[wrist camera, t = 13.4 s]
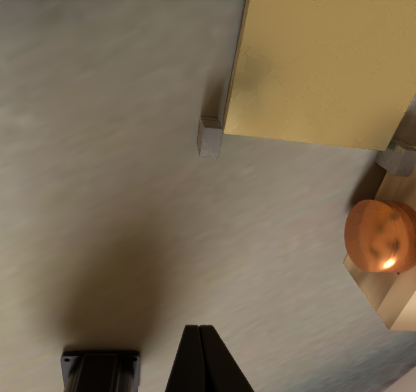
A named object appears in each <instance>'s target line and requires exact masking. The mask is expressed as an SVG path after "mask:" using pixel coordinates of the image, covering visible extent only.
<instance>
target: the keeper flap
mask: <svg viewBox="0 0 416 392" xmlns="http://www.w3.org/2000/svg"><path fill="white" fill-rule="evenodd" d="M415 93H416V0H246V4H245V9H244V14H243V20H242V25H241V30H240V35H239V40H238V46H237V51H236V56H235V61H234V67H233V72H232V77H231V82H230V87H229V93H228V98H227V103H226V108H225V114H224V119H223V124H222V128H223V133H226V134H235V135H244V136H253V137H262V138H271V139H280V140H289V141H298V142H307V143H317V144H326V145H335V146H344V147H353V148H362V149H371V150H380V151H385V150H386V148H387V146H388V144H389V142H390V140H391V139H392V137H393V135H394V133H395V131H396V129H397V127H398V125H399V123H400V121H401V120H402V118H403V116H404V114H405V112H406V110H407V108H408V106H409V104H410V103H411V101H412V99H413V97H414V95H415Z"/></svg>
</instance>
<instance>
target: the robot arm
mask: <svg viewBox="0 0 416 392" xmlns="http://www.w3.org/2000/svg"><path fill="white" fill-rule="evenodd" d="M139 366H140V353H139V352H136V351H116V352H65V353H63V354H62V356H61V367H62V374H63V381H64V392H138V382H139ZM165 392H254V390H253V389H252V387H251V385H250V384H249V382H248V381H247V379H246V377H245V376H244V374H243V373H242V371H241V370H240V368H239V366H238V365H237V363H236V362H235V360H234V358H233V357H232V355H231V354H230V352H229V350H228V349H227V347H226V346H225V344H224V342H223V341H222V339H221V338H220V336H219V334H218V333H217V331H216V330H215V328H214V327H213V326H212V325H200V326H198V325H186V326H185V328H184V331H183V334H182V337H181V341H180V344H179V347H178V350H177V354H176V357H175V360H174V364H173V367H172V370H171V373H170V377H169V380H168V383H167V386H166V390H165Z"/></svg>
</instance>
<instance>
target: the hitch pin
mask: <svg viewBox="0 0 416 392" xmlns="http://www.w3.org/2000/svg"><path fill="white" fill-rule="evenodd" d="M344 236H345V245H346V249H347V252H348V255H349V257H350V259H351V260H352V262H353V263H354V264H355V265H356V266H357V267H358V268H359V269H361V270H363V271H366V272H388V273H403V272H406V271H408V270H410V269H412V268H413V267H414V266H415V265H416V212H415V211H414V210H413V209H412V208H411V207H410V206H408V205H407V204H405V203H401V202H393V201H380V200H363V201H360V202H359V203H357V204H356V205H355V206H354V207H353V208H352V210H351V211H350V213H349V215H348V217H347V220H346V224H345V233H344Z"/></svg>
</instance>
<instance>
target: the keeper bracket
mask: <svg viewBox="0 0 416 392" xmlns="http://www.w3.org/2000/svg"><path fill="white" fill-rule="evenodd" d="M222 134H223V128H222V126H221V124H220V121H219V119H218V118H212V117H204V116H201V117H200V124H199V131H198V138H197V146H198V151H199V156H200V157H208V158H218V157H219V151H220V145H221V140H222ZM375 162H376V163H377V164H379V165H380V166H381V167H383V168H384V169H386V170H387V171H388V172H390V173H391V174H393V175H394V176H405V177H409V175H410V173H411V171H412V170H413V168H414V166H415V164H416V149H415V148H414V147H412V146H410V145H408V144H406V143H405V142H403V141H401V140H398V139H391V140H390V142H389V144H388V146H387V148H386V150H385V151H379V153H378V155H377V157H376V160H375Z"/></svg>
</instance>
